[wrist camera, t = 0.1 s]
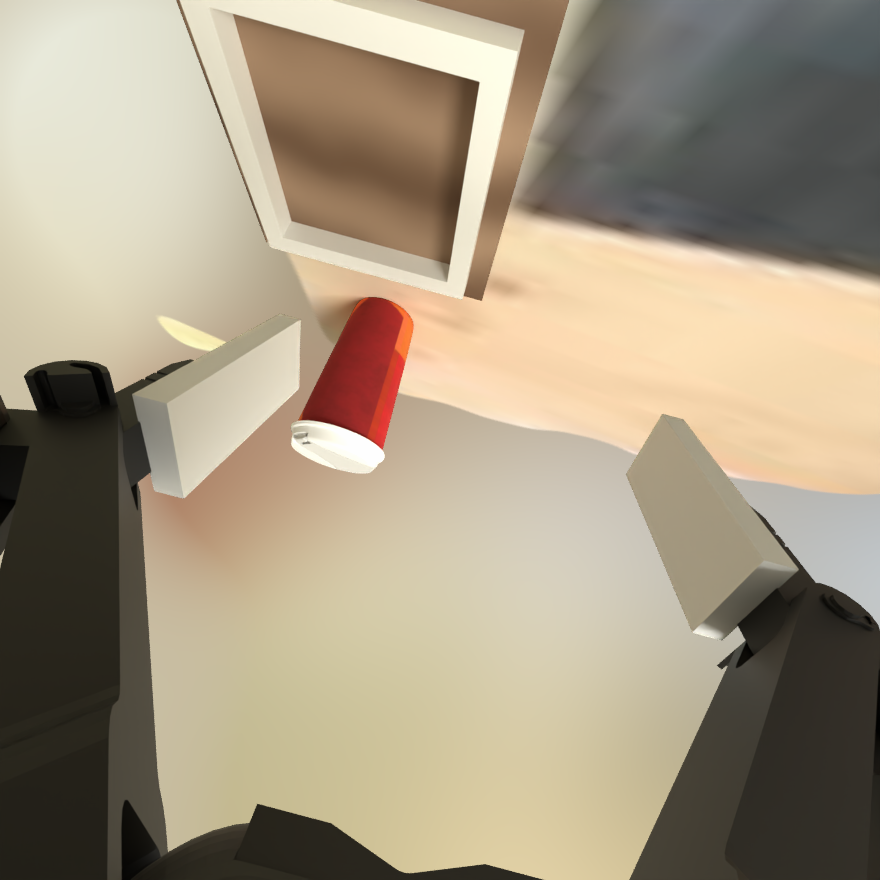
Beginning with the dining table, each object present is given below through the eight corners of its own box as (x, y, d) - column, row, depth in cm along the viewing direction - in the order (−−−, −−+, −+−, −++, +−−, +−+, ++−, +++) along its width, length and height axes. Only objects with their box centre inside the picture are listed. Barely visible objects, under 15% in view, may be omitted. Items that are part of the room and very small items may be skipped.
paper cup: (327, 303, 37) (266, 440, 32) (382, 275, 32) (320, 432, 27) (387, 352, 42) (343, 477, 37) (442, 335, 37) (400, 476, 32)
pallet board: (156, -153, 15) (103, -116, 13) (578, -36, 15) (566, 13, 13) (277, 222, 30) (257, 257, 28) (487, 279, 30) (477, 317, 28)
